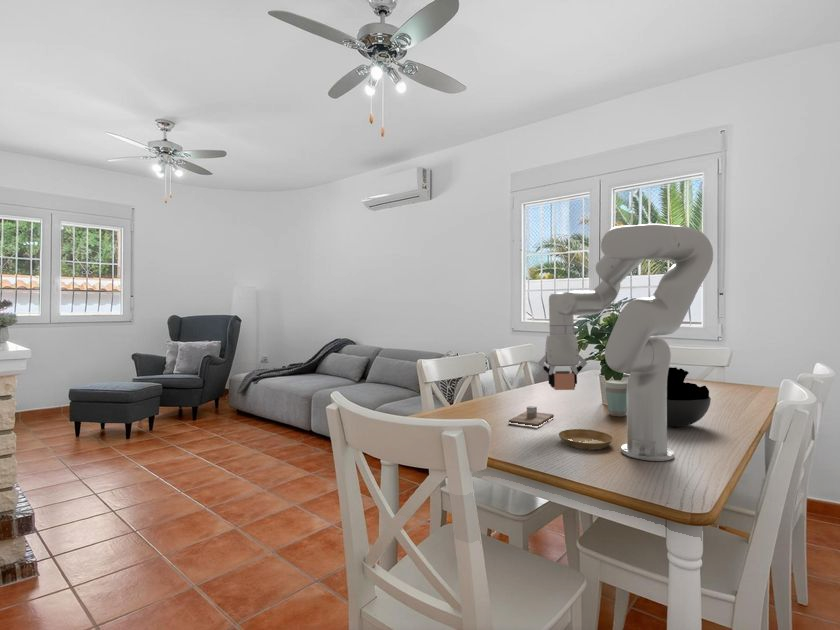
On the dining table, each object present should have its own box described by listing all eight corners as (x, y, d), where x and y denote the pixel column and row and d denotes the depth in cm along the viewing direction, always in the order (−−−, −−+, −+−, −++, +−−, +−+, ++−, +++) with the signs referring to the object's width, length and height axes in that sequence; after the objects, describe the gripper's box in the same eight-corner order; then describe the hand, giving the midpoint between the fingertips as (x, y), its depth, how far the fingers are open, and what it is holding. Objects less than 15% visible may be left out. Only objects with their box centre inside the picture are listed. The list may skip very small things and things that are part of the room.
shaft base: (537, 428, 147) (537, 413, 147) (508, 424, 153) (508, 409, 153) (553, 418, 161) (553, 404, 161) (526, 415, 166) (526, 401, 166)
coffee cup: (634, 417, 161) (634, 383, 161) (610, 417, 161) (609, 383, 161) (624, 411, 170) (623, 379, 169) (601, 412, 170) (600, 380, 170)
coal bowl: (691, 418, 158) (691, 364, 158) (724, 434, 138) (723, 372, 138) (631, 418, 160) (631, 364, 160) (655, 433, 140) (655, 372, 140)
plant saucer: (618, 442, 132) (618, 433, 132) (607, 456, 120) (606, 446, 120) (567, 435, 140) (567, 426, 140) (551, 447, 128) (551, 438, 128)
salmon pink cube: (574, 389, 144) (574, 372, 144) (555, 389, 145) (554, 372, 145) (569, 386, 150) (569, 370, 150) (551, 387, 151) (551, 370, 151)
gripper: (585, 330, 151) (586, 384, 150) (532, 331, 152) (533, 384, 152) (592, 330, 143) (593, 388, 143) (536, 331, 144) (537, 388, 144)
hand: (562, 385), depth 147 cm, fingers closed on salmon pink cube, 6 cm apart
